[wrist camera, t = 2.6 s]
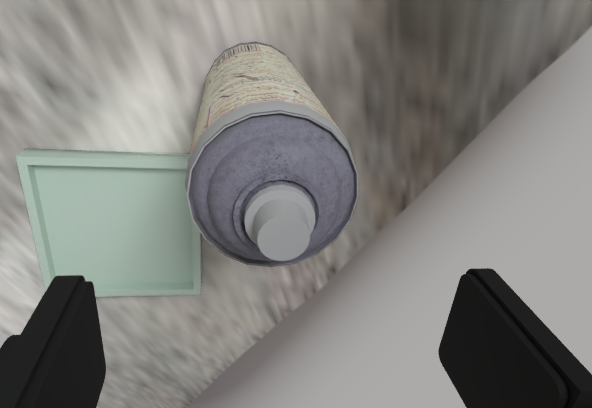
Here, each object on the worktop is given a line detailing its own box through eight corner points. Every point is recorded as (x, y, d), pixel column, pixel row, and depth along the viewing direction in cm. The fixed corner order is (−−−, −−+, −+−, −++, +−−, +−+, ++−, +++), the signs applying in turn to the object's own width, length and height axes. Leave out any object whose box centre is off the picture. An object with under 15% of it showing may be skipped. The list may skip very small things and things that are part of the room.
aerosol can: (186, 99, 31) (128, 260, 13) (244, 19, 29) (267, 85, 12) (261, 154, 34) (295, 348, 16) (319, 84, 32) (430, 218, 14)
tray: (199, 154, 33) (198, 161, 32) (201, 283, 39) (200, 294, 37) (25, 148, 31) (15, 156, 30) (53, 286, 37) (47, 297, 35)
